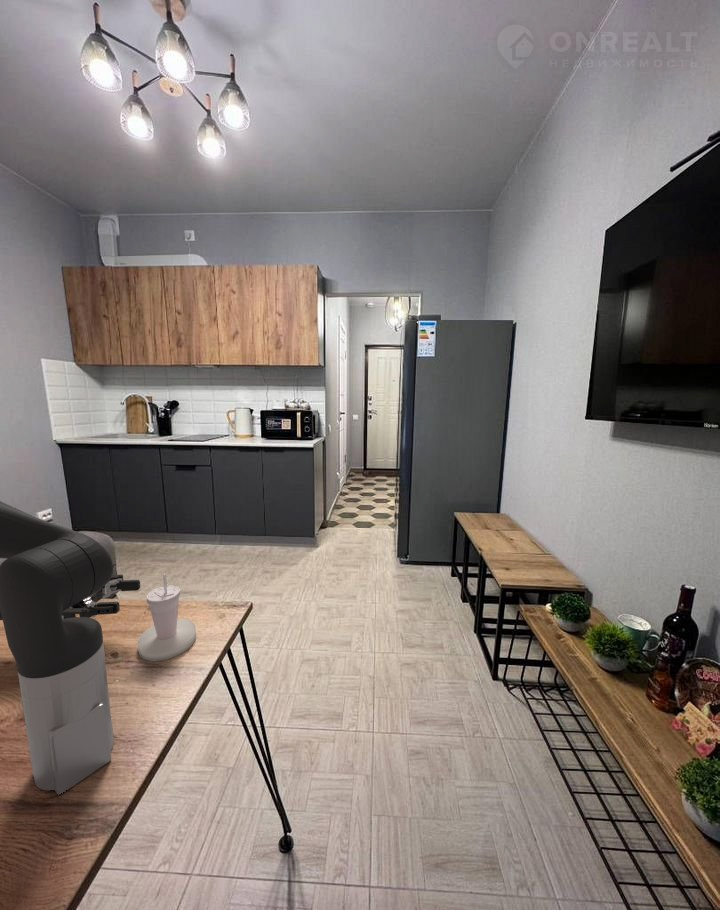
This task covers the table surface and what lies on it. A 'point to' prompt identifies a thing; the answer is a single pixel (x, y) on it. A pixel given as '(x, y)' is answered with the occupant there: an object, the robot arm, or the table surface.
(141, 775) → the table surface
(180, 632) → the trivet
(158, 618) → the smoothie
